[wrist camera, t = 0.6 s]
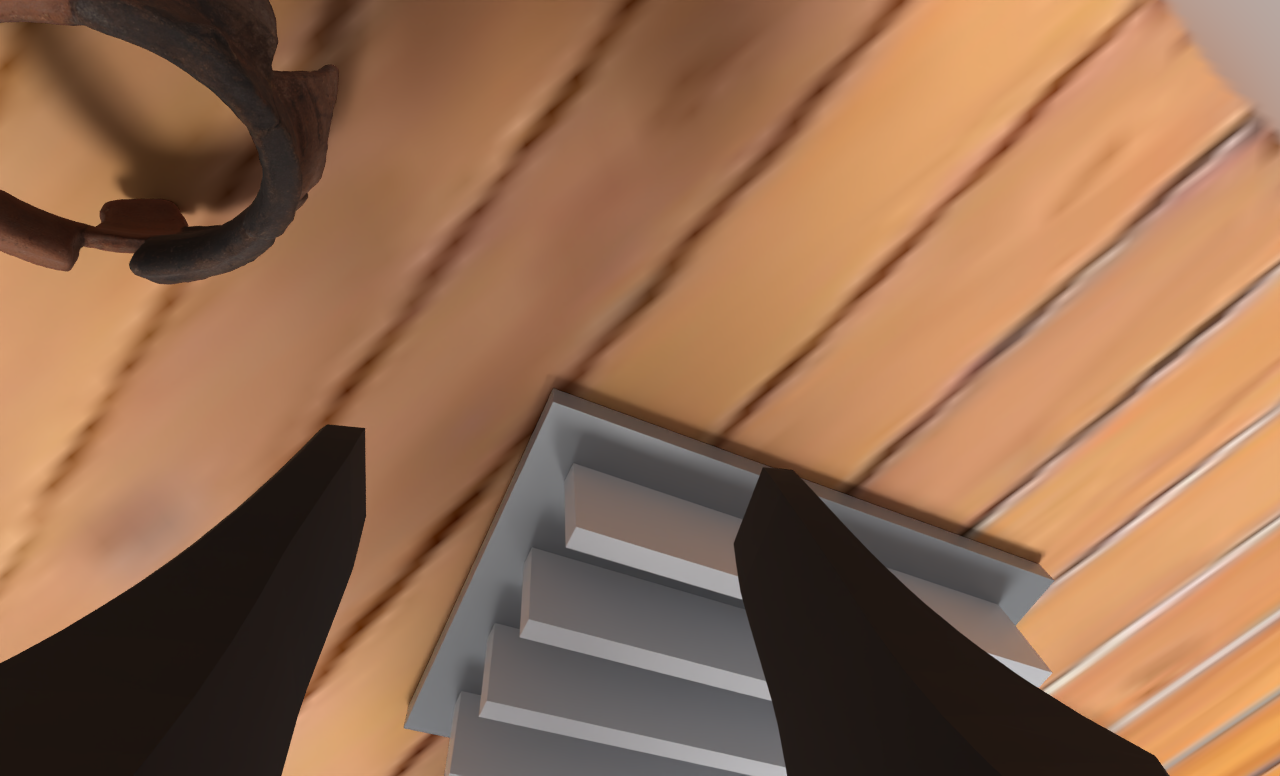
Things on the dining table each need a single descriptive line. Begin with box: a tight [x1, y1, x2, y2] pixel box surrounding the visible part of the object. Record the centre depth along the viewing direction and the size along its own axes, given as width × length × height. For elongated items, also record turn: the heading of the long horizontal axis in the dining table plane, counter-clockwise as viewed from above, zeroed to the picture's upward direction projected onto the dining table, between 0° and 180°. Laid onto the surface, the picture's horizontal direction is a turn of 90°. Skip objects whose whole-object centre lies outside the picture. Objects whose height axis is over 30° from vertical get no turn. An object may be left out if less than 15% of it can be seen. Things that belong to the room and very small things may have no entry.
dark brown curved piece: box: [0, 0, 339, 284], centre depth 16 cm, size 12×9×8 cm
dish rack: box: [404, 388, 1054, 776], centre depth 27 cm, size 16×22×4 cm
